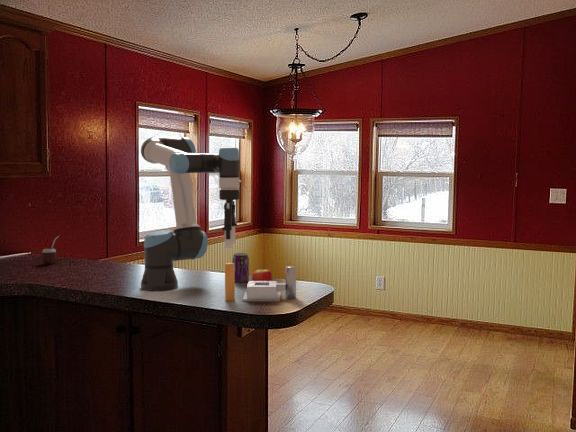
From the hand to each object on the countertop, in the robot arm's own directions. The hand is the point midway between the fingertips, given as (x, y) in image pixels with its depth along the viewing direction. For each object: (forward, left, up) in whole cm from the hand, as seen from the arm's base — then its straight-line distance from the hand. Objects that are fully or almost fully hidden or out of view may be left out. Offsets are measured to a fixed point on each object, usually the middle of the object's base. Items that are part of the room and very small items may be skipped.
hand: (230, 245), depth 226 cm
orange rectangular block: (0, 0, -21) cm, 21 cm away
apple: (+11, +23, -21) cm, 33 cm away
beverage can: (+1, +37, -21) cm, 42 cm away
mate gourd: (-101, +82, -21) cm, 132 cm away
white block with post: (+15, +4, -21) cm, 26 cm away
